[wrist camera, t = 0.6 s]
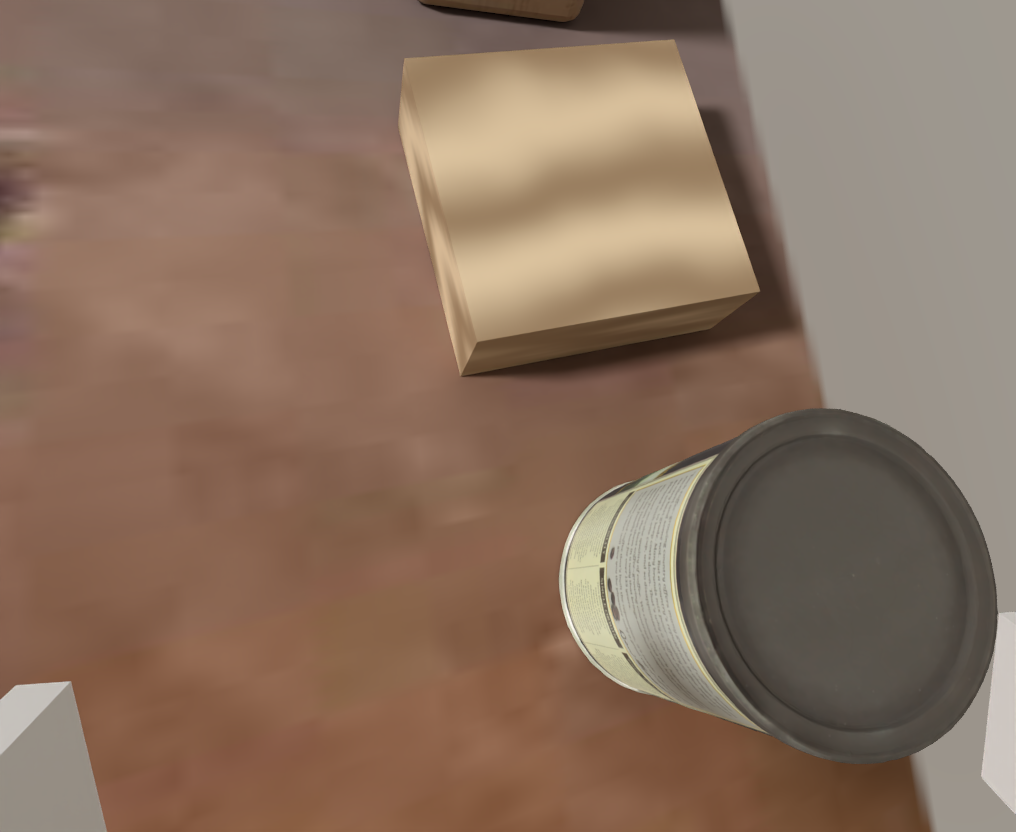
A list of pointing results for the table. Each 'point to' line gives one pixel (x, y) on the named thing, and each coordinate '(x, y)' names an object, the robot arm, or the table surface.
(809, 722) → the coffee can
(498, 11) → the wooden block
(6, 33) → the table surface
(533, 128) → the oak block
